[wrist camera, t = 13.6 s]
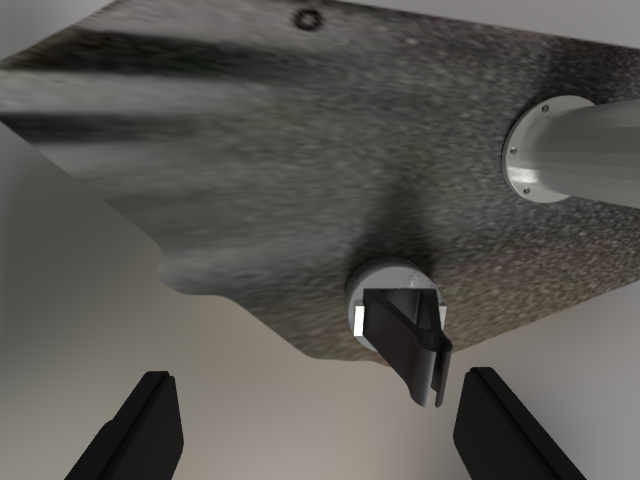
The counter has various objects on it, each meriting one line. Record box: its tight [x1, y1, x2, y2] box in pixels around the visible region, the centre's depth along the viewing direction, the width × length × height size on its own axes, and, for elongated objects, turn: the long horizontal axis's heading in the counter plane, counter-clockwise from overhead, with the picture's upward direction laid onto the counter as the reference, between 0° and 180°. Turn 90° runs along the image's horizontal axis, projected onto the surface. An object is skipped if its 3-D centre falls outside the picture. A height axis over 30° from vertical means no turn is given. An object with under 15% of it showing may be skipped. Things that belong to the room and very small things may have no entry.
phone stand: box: [362, 288, 453, 408], centre depth 32 cm, size 9×6×12 cm, turn 88°
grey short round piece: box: [344, 256, 447, 352], centre depth 40 cm, size 12×12×7 cm
